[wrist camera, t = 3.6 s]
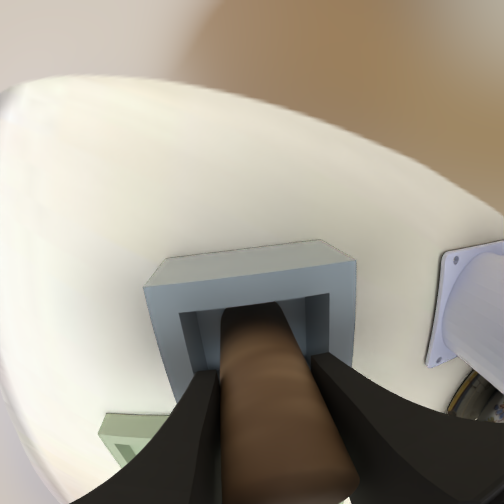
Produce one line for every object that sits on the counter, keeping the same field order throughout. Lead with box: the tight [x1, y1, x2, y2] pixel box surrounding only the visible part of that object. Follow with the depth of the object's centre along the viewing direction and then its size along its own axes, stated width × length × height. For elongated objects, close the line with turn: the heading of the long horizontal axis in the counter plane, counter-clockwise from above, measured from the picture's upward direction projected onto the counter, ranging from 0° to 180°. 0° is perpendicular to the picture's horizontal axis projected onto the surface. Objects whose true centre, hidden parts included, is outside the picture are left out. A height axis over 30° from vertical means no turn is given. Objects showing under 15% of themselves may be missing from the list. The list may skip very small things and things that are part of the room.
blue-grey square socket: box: [143, 240, 356, 403], centre depth 11 cm, size 7×7×4 cm
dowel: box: [220, 301, 360, 504], centre depth 8 cm, size 3×3×9 cm
